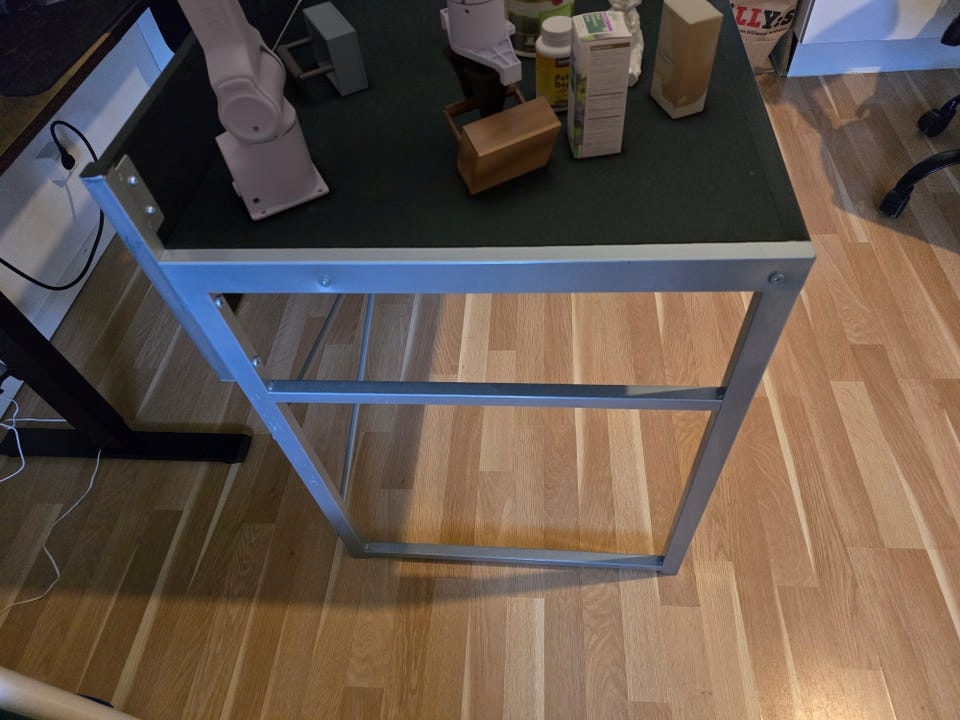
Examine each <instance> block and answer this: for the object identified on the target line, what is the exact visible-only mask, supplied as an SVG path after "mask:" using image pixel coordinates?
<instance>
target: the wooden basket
mask: <svg viewBox="0 0 960 720" xmlns="http://www.w3.org/2000/svg"><path fill="white" fill-rule="evenodd" d="M512 96H514V98H515V100H516V102H517V103H518V105H516V106H513V107H510V108H507V109H505V110H504V109H503V111H502V112H499V113H497V114H494V115H491V116H489V117H486V118H483V119H481V118H480V119H478V120H476V121H473V122H470V123H468V124H465V125H463V126H462V130H461V129H460V127H459V126H458V124H457V122H456V120H455V118H456V117H459V116H462V115H464V114H467V113H469V112H472V111H475V110H477V109H478V110H479V108H478V104H477V99H476V95H475V96H472V97H470V98H467V99H465V98H464V99H462V100H459V101H456V102H453V103H451V104H448V105H446V106H444V107H443V110H442V112H441V115H442V118H443V119H444V121H445V122H446V124H447V126H448V128H449V130H450V132H451V134H452V135H453V137H454V139H455V141H456V143H457V144H458V146H459V147H458V154H457V160H456V170H458V172H459V175H460V176H461V178H462V180H463V181H464V183H465V185H466V187H467V189H468V192H470V194H471V195H472V196H473V195H476V194H477V193H480V192H482V191H485V190H488V189H490V188H492V187H496V186H497V185H500V184H502V183H504V182H508V181H510V180H512V179H515V178H518V177H519V176H522V175H525V174H527V173H529V172H532V171H535V170H537V169H540V168H543V167H545V166H547V164H548V161H549V158H550V156H551V153H552V151H553V148H554V145H555V143H556V141H557V137H558V135H559V133H560V130H561V128H562V123H561V121H560V120H559V118H558V116H557V114H556V112H554V111H553V110H552V108H551V106H550V105H549V103H548V101H547V99H546V98H545V96H542V97H539V98H536V97H535V98H534V99H530V100H528V101H527V99H526V98H525V96H524V94H523V92H522V90H521V89H520V87H519V85H518V84H517V83H516V82H515V83H512V84H510V85H509V88H508V91H507V94H506V98H510V97H512ZM506 98H505V99H506Z"/></svg>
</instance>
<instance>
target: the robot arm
mask: <svg viewBox="0 0 960 720" xmlns="http://www.w3.org/2000/svg"><path fill="white" fill-rule="evenodd" d="M176 1H177V2H178V4H179V6H180V8H181V10H182V12H183V14H184V16H185V18H186V20H187V21H188V24H189V25H190V27H191V29H192V31H193V33H194V35H195V36H196V38H197V40H198V42H199V44H200V46H201V48H202V51H203V53H204V57H205V63H206V67H207V73H208V74H207V75H208V78H209V82H210V86H211V88H212V90H213V92H214V93H215V96H216V100H217V114H218V119H219V121H220V123H221V125H222V127H223V128H224V129H225V130H226V131H224V132H223V133H221V134H220V135H218V136H216V137H215V141H216V144H217V146H218V148H219V150H220V152H221V155H222V158H223V159H224V161H225V164H226V166H227V168H228V171H229V173H230V175H231V178H232V179H233V181H232V182H231V184H232V186H233V188H234V190H235V192H236V194H237V197H238V198H241V199H242V201H243V202H244V204H245V205H244V206H245V207H246V209H247V211H248V214H249V215H250V218H251V219H252V221H255V222H256V221H259V220H263V219H265V218H267V217H270V216H272V215H275V214H278V213H280V212H283V211H286V210H288V209H291V208H293V207H296V206H298V205H302V204H304V203H307V202H310V201H312V200H314V199H317V198H320V197H322V196H324V195H327V194H328V193H330V189H329V186H328V185H327V184H326V182H325V181H324V178H323V177H322V175H321V174H320V172H319V171H318V169H317V167H316V166H315V164H314V163H313V161H312V158H311V155H310V152H309V149H308V146H307V143H306V140H305V136H304V133H303V130H302V128H301V124H300V122H299V118H298V115H297V113H296V109H295V108H294V106H293V105H292V104H291V102H289V101H288V99H287V98H286V97H285V95H284V88H285V84H286V79H287V73H286V72H287V71H286V68H285V65H284V64H283V63H284V62H283V61H282V59H281V58H280V57H279V55H278V54H275V52H274V51H272V50H271V48H270V47H268V46H267V44H266V43H265V41H264V40H263V37H262V36H261V33H260V31H259V30H258V29H257V28H256V27H254V26H253V25H251V24H250V23H249V22H248V19H247V17H246V15H245V12H244V10H243V8H242V7H241V4H240V2H239V0H176ZM446 5H447V7H445V8H443V9H439V13H440V14H439V15H440V22H441V28H442V30H444V31H446V33H447V39H448V42H449V44H447V45H445V46H444V47H443V48H442V54H443V55H444V56H445V58H446V59H447V61H448V62H449V64H450V66H451V67H452V69H453V71H454V73H455V75H456V77H457V80H458V82H459V86H460V89H461V92H462V94H463V97H464V99H467V98H470V97H472V96H475V95H476V99H477V104H478V113H479V117H480V120H481V119H483V118H486V117H489V116H491V115H494V114H497V113H499V112H502V111H504V107H505V101H506V94H507V91H508V88H509V85H510V84H512V83H515V84H516V82H521V81H522V78H523V76H522V61H520V59H519V58H518V57H517V55H516V54H515V53H514V50H513V47H512V44H511V41H510V38H509V36H510V35H513V34H514V33H515V26H514V25H513V24H512V23H511V22H509V21H508V20H505V11H504V0H446Z"/></svg>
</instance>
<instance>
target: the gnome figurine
mask: <svg viewBox="0 0 960 720" xmlns="http://www.w3.org/2000/svg"><path fill="white" fill-rule="evenodd" d="M607 1H608V3H609V4H610V8H609V9H607V10H606V11H621V12H623V15H624V17H625V19H626V21H627V23H628V26H629V29H630V32H631V34H632V37H633V40H632V50H631V60H630V69H629V79H628V87H630V88H632V87H633V86H634V85H635V84H636V83H637V82H638V81H639V76H640V75H641V74H642V73H641V72H642V69H641V66H642V60H643V54H644V53H643V52H644V48H645V42H644V40H643V39H644V36H643V34H642V33H643V32H642V30H641V27H640V26H641V22H640V14H639V12H638V11H637V9H636V7H638V6H639V5H641V4H642V1H643V0H607Z"/></svg>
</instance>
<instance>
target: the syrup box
mask: <svg viewBox="0 0 960 720" xmlns="http://www.w3.org/2000/svg"><path fill="white" fill-rule="evenodd" d="M632 40H633V37H632V34H631V32H630V29H629V26H628V23H627V21H626V19H625V17H624V15H623V12H621V11H607V10H606V11H595V12H594V11H593V12H588V13H587V12H586V13H581V14H579V15H574V16H573V17H572V23H571V48H570V69H569V93H568V110H567V127H566V128H567V130H566V131H567V136H568V137H567V138H568V141H569V145H570V149H571V152H572V156H573V158H574V159H584V158H591V157H598V156H606V155H607V156H608V155H613V154H620V153H621V151H622V142H623V134H624V123H625V115H626V106H627V95H628V87H629V86H628V79H629V69H630V60H631V50H632Z"/></svg>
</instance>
